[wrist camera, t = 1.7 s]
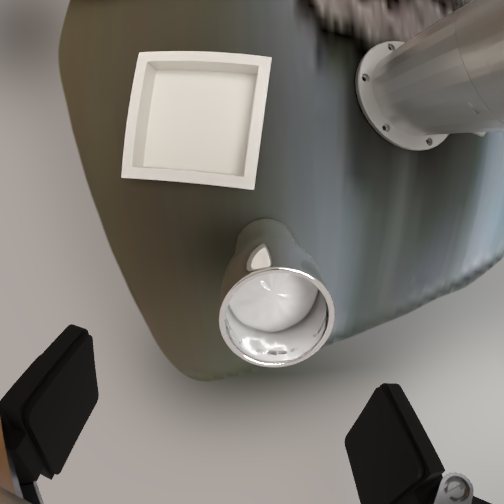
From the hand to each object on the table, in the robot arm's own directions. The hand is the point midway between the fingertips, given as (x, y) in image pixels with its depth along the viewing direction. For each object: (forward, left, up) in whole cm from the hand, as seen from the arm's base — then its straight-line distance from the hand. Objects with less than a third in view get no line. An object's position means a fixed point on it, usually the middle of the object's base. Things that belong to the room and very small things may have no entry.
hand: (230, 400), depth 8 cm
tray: (+6, -11, -23) cm, 26 cm away
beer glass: (-2, +1, -23) cm, 23 cm away
